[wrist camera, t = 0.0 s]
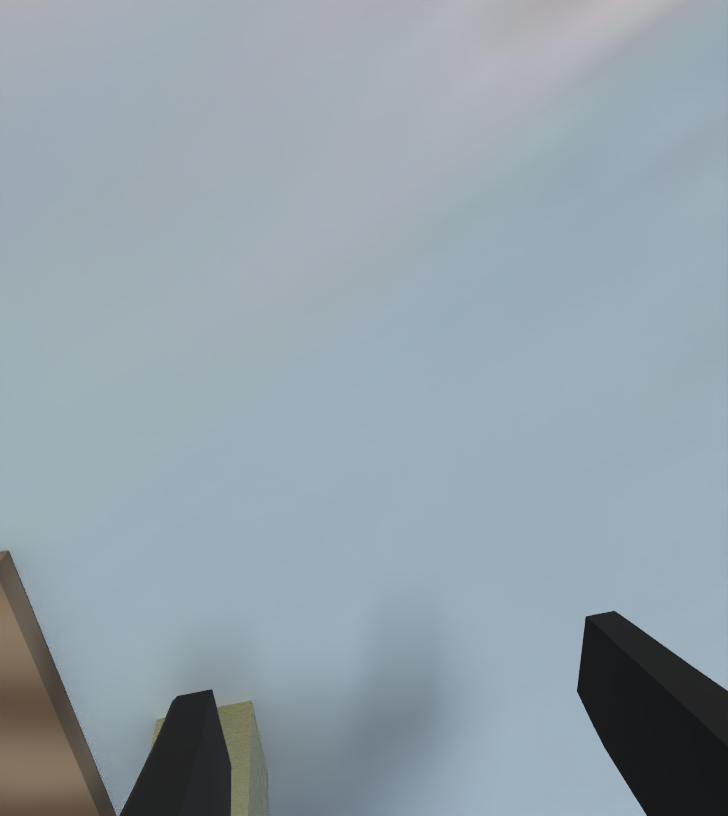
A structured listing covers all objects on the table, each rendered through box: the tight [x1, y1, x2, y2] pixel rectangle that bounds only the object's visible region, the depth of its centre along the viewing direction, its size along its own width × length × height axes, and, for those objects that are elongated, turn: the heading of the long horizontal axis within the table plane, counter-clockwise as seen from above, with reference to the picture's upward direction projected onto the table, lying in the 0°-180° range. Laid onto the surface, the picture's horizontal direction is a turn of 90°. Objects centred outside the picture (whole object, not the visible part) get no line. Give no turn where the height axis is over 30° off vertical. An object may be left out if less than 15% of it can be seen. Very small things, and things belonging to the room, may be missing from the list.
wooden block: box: [150, 701, 268, 816], centre depth 22 cm, size 5×4×5 cm
